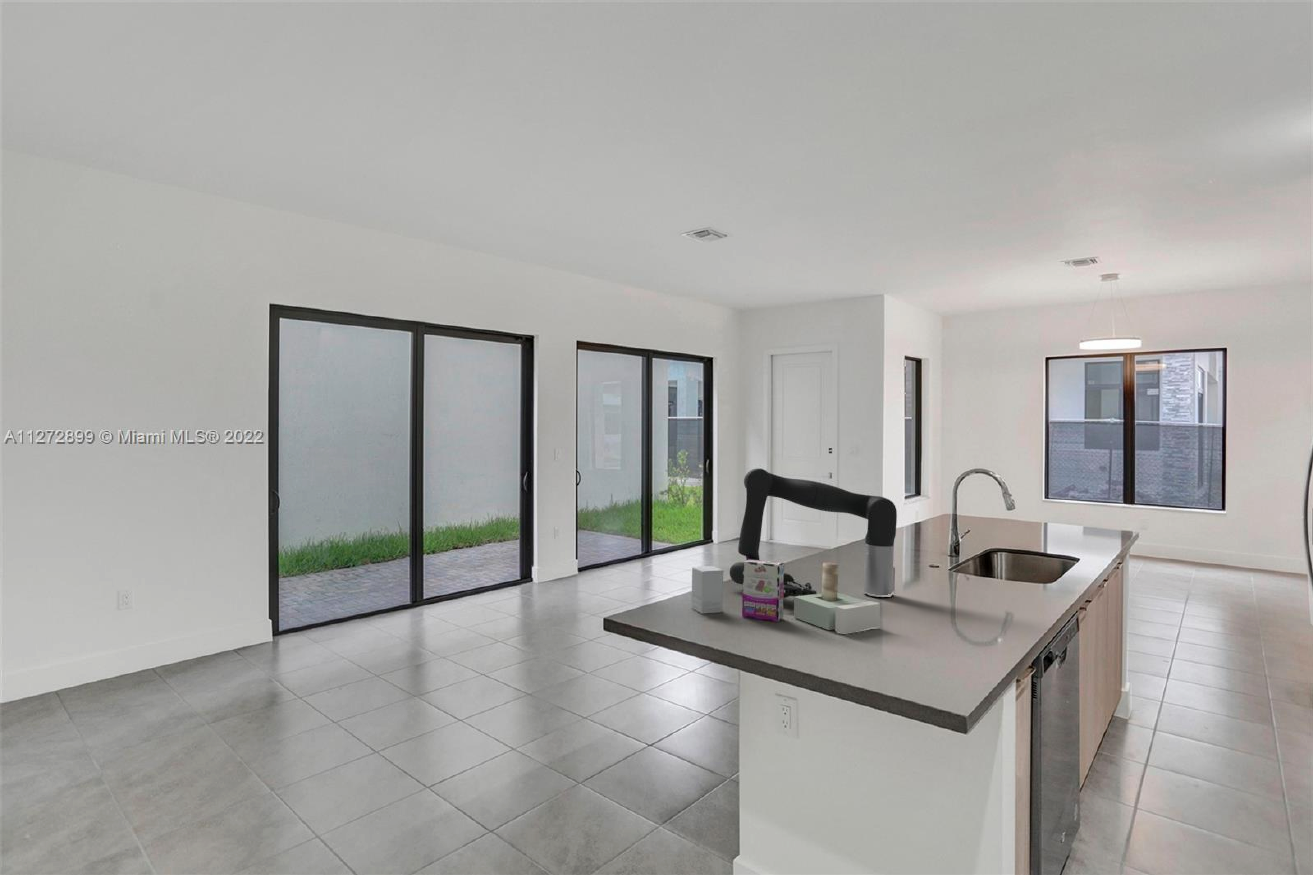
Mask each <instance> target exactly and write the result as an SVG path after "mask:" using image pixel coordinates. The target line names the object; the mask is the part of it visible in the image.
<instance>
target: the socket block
mask: <svg viewBox="0 0 1313 875" xmlns="http://www.w3.org/2000/svg"><path fill="white" fill-rule="evenodd" d="M793 597H794V599H793V600H794V601H793V602H794V603H793V618H795V619H797V620H799V621H803V622H806V623H809V624H811V625H813V626H816V627H819V628H821V627H822V628H821V629H825V630H827V631H831V630H835V619H836V606H843V605H850V604H856V603H863V602H869V601H868V600H864V599H861V598H858V597H854V596H851V595H847V594H843V593H841V592H837V601H833V602H827V601H824V600H821V599H822V592H821V593H817V594H812V595H804V596H797V597H795V596H793Z"/></svg>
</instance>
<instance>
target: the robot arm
mask: <svg viewBox="0 0 1313 875" xmlns="http://www.w3.org/2000/svg"><path fill="white" fill-rule="evenodd" d="M743 485H744V488H745V491H746V495H745V496H746V498H745V499H746V501H745V509H744V515H743V519H742V523H741V528H740V533H739V541H738V548H737V552H738V554H739V555H742V556H745V559H746V560H748V559H751V560H760V551H759V550H760V544H761V536H762V529H763V528H762V526H763V519H764V518H763V517H764V512H765V506H766V503H767V499H768V497H772V498H778V499H782V500H786V501H788V502H790V503H791V502H792V503H793V504H796V505H800V506H802V507H806V508H809V509H813V510H817V511H822V512H829V513H841V514H842V513H843V514H850V515H852V516H853V515H854V516H855V517H856V516H857V517H860V518H863V519H864V520H865V519H866V520H867V532H866V533H865V534H866V535H865V538H864V542H865V543H864V571H863V572H864V576H863V577H864V579H863V580H864V581H863V582H864V583H863V592H864V591H865V592H867V593H870V594H875V595H888V594H891V593H892V592H893V591H894V592H896V591H895V588H896V587H895V582H896V568H895V567H894V552H895V551H894V550H895V549H894V548H895V545H894V544H895V538H896V536H897V535H896V534H897V521H898V520H897V517H898V513H897V507H896V505H895V503H894V502H893V501H892V500H891V499H889V498H886V497H884V496H880V495H879V496H878V495H868V494H863V493H857V492H856V493H855V492H853V491H852V492H850V491H848V490H846V489H843V488H841V487H837V486H833V485H831V484H827V483H825V482H824V483H822V482H818V481H814V480H808V479H801V478H800V479H799V478H790V477H783V476H780V475H777V474H775V473H770V472H768V471H767V470H766V469H763V468H754V469H753V468H752V469H751V470H749V471H748V472H747V473H746V475H744V479H743ZM746 560H745V561H746ZM729 577H730V579H731V580H732V581H733V582H734V583H736V584H739V585H742V586H743V562H735V563H734V564H732V565H731V566H730V568H729ZM812 588H813V587H812V584H811V582H806V583H805V584H804V583H801V582H799V581H797V580H795V579H794V577H793V575H791V574H790V573H785V572H784V586H783V599H784V598H785V599H787V598H788V597H797V596H804V595H812V594H818V593H817V590H814V589H812Z"/></svg>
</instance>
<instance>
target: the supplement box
mask: <svg viewBox="0 0 1313 875" xmlns="http://www.w3.org/2000/svg"><path fill="white" fill-rule="evenodd" d="M691 569H692V570H691V571H692V572H691V603H690V604H691V606H690V607H691V609H693V610H695V611H696V612H697V613H700V614H715V613H722V612H723V610H724V608H723V607H724V570H723V569H721V568H718V567H716V566H714V565H707V566H693V567H692V568H691Z"/></svg>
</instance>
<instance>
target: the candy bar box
mask: <svg viewBox="0 0 1313 875" xmlns="http://www.w3.org/2000/svg"><path fill="white" fill-rule="evenodd" d="M742 563H743V585H742V602H741V603H742V607H741V608H742V609H741V611H742V612H741V613H742V614H741V617H743V618H749V619H754V620H761V621H768V622H775V623H779V622H781V621H782V620H783V619H784V598H783V586H784V573H785V563H784V562H779V561H778V562H776V561H768V560H762V559H761V560H751V559H748V560H744V561H743V562H742ZM782 618H783V619H782ZM781 619H782V620H781Z"/></svg>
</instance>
